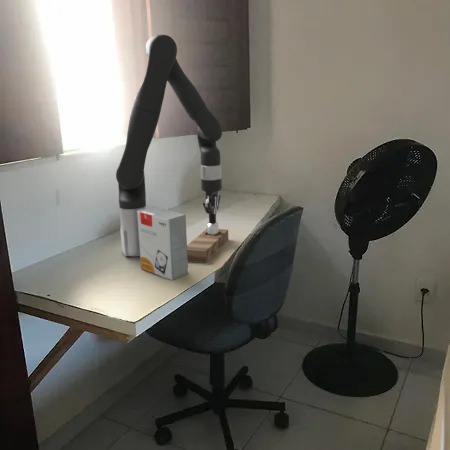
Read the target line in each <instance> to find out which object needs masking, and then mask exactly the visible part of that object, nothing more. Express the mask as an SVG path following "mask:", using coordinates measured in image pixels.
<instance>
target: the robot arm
mask: <svg viewBox="0 0 450 450" xmlns="http://www.w3.org/2000/svg"><path fill="white" fill-rule="evenodd" d="M146 41H147V42H146V44H145V53H146V56H147V58H148V59H147V65H146V71H145V74H144V77H143V79H142V82H141V85H140V87H139V88H138V91H137V93H136V95H135V98H134V100H133V103H132V107H131V112H130V115H129V121H128V127H127V133H126V140H125V141H126V142H125V147H124V150H123V154H122V157H121V160H120V162H119V165H118V167H117V169H116V172H115V178H116V181H117V184H118V205H119V206H118V207H119V216H120V217H119V218H120V226H119V227H120V228H119V230H120V231H119V232H120V241H121V252H122V253H123V255H124V257H125V258H126V257H140V247H139V233H138V220H137V211H139V210H142V209H146V208H147V200H146V199H147V197H146V196H147V195H146V194H147V193H146V180H145V179H146V178H145V176H146V175H145V164H146V160H147V159H146V158H147V155H148V154H147V153H148V152H149V149H150V146H151V143H152V141H153V138H154V136H155V133H156V130H157V126H158V123H159V119H160V115H161V112H162V107H163V102H164V100H165V99H164V98H165V93H166V87H167V82H168V83H169V86H170V87H171V89H172V90H173V92H174V93H175V95H176V97H177V99H178V101H179V102H180V104H181V105H182V107H183V109H184V110H185V112H186V114H187V116H188V117H189V118H190V120H192V121H194V123H195V124H196V125H197V128H196V129H197V130H196V137H197V143H198V147H199V151H200V189H201V191H203V192H205V196H204V199H205V201H203V202H202V204H203V205H202V206H203V208H204V211H205V214H208V222H209V223H210V224H215V223H216V222H217V212H218V210H219V208H220V203H221V202H220V201H221V195H220V194H219V192H220V191H222V189H223V183H222V181H223V180H222V165H221V163H222V162H221V151H220V149H219V148H218V146H217V141H219V140H220V139H222V138H221V137H222V136H223V128H222V126H221V123H220V122H219V120H218V119H217V118H216V117H215V115H214V114H213V113H212V112H211V110H210V109H209V108H208V107H207V105H206V102H205V101H204V99H203V97H202V96H201V94H200V92H199V91H198V89H197V88H196V87H195V85H194V84H193V83H192V82H191V80H190V79H189V77H188V76H187V75H186V74H185V72H184V71H183V69H182V67H181V65H180V64H179V62H178V59H177V55H178V46H177V43H176V41H175V40H174V39H173V37H172V36H170V35H167V34H155V35H152V36H151V37H149V39H148V40H146Z"/></svg>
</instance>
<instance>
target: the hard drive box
mask: <svg viewBox="0 0 450 450" xmlns="http://www.w3.org/2000/svg"><path fill="white" fill-rule="evenodd" d="M137 220H138V233H139V247H140V256H139V258H140V269H143V270H145V271H146V272H149V273H152V274H155V275H158V276H159V277H162V278H163V279H168V280H170V281H174V280H175V279H178V278H180V277H182V276H185V275H188V274H189V263H188V262H189V261H188V257H187V245H188V240H187V239H188V237H187V217H186V214H184V213H181V212H176V211H174V210H169V209H165V208H163V207H157V206H150V207H146V209H142V210H139V211H137Z"/></svg>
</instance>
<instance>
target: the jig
mask: <svg viewBox="0 0 450 450" xmlns="http://www.w3.org/2000/svg"><path fill="white" fill-rule="evenodd" d="M228 241H229V229H222V228H218V236H211V235H208V231H207V228H206V229H205V230H204V231H202V232H201V233H200V234H199V235H197V237H195V238H194V239H193V240H191V241H190V242H189V243H187V257H188V262H194V263H195V262H196V263H207V262H208V261H209V260H210V259H211V258H212V257H213V256H214V255H215V254H216V253H217V252H218V251H219V250H220V249H221V248H222V247H223V246H224V245H225V244H226V243H227V242H228Z"/></svg>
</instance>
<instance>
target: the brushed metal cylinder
mask: <svg viewBox="0 0 450 450" xmlns="http://www.w3.org/2000/svg"><path fill="white" fill-rule="evenodd" d="M206 225H207V227H206V229H207V231H208V235H211V236H218V229H219V222H217V221H216V223H215V224H210V223H209V221H208V222H207V223H206Z"/></svg>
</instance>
